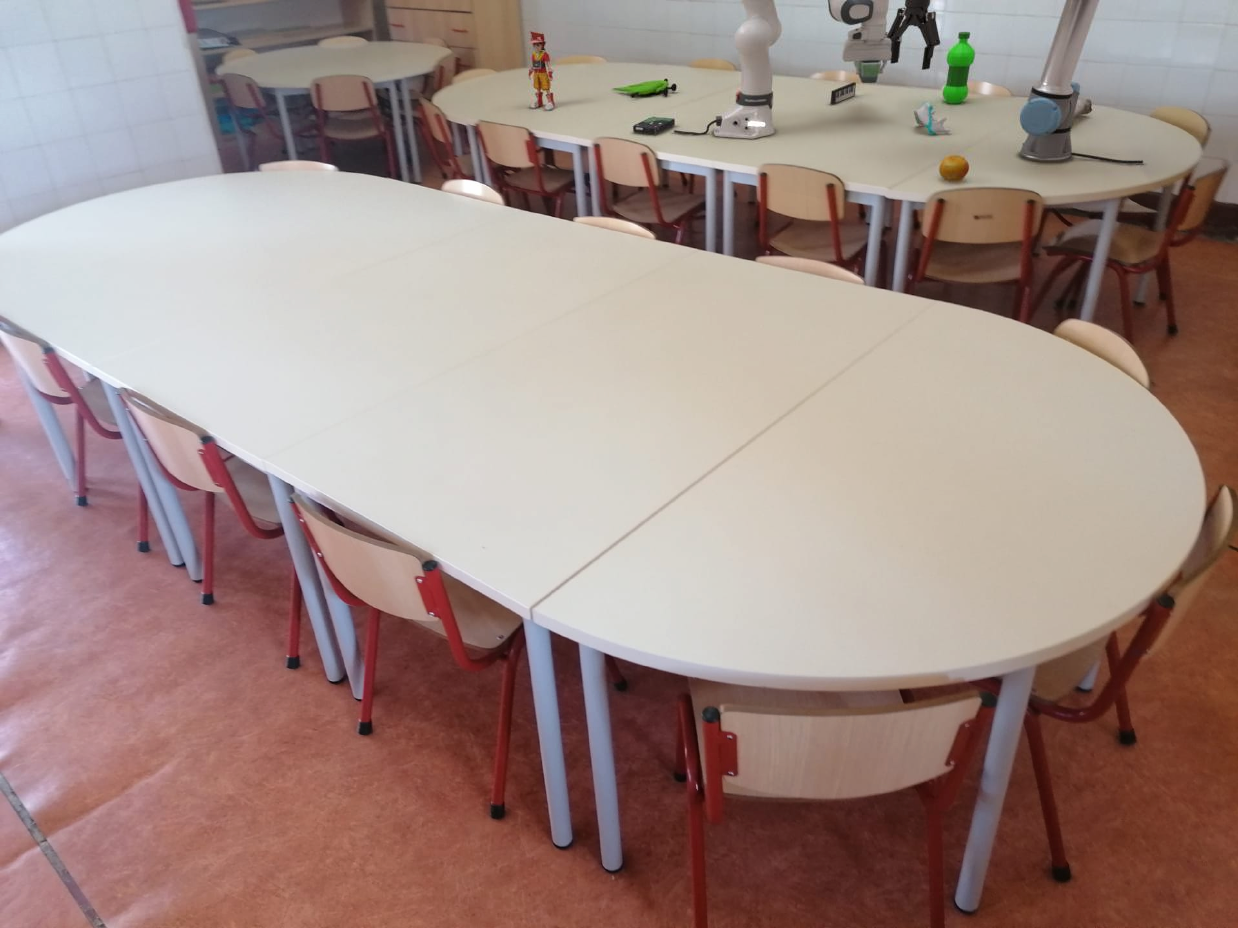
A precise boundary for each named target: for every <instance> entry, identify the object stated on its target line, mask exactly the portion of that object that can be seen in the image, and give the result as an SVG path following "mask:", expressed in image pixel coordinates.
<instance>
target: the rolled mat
mask: <svg viewBox="0 0 1238 928" xmlns="http://www.w3.org/2000/svg"><path fill="white" fill-rule="evenodd" d="M1092 111H1093V108H1092V100H1091V99H1090V98H1081V97H1080V98H1079V97H1078V100H1077V105H1076V109H1075V113H1074V118H1073V121H1074V120H1075V119H1077V117H1079V116H1084V115H1088V114H1090V113H1091V112H1092Z"/></svg>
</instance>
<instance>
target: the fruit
mask: <svg viewBox="0 0 1238 928" xmlns="http://www.w3.org/2000/svg"><path fill="white" fill-rule="evenodd" d="M969 171H970V164H969V162H968V160H967V159H966V158H965V157H964V156H961V155H957V154H955V155H949V156H947V157H945V158H943V159H942V160H941V162H940V164H939V167H938V173H939V176H940V177H941V178H942V179H944V180H945V181H949V182H959V181H960V180H963V179H964V178H965V177H966V176H967V175H968V173H969Z"/></svg>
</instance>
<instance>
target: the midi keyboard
mask: <svg viewBox="0 0 1238 928" xmlns="http://www.w3.org/2000/svg"><path fill="white" fill-rule="evenodd" d="M856 86H857V82H856V81H854V82H850V83H848V84H846V85H842V86H841V87H838V88H835V89H833V90H831V94H830V105H835V104H837V103H839V102H841V101H843V100H846V99H848V98H851V97H853V96H856Z"/></svg>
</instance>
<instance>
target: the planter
mask: <svg viewBox="0 0 1238 928" xmlns="http://www.w3.org/2000/svg"><path fill="white" fill-rule="evenodd" d="M856 65H857V67H858V68H860V69H861V71H860V74H857V75H858V77H859V80H860V82H861V83H862V84H875V83H877V81H878V78H879V75H880V74H879V71H880V68H881V67H882V61H858V64H856Z"/></svg>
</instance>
